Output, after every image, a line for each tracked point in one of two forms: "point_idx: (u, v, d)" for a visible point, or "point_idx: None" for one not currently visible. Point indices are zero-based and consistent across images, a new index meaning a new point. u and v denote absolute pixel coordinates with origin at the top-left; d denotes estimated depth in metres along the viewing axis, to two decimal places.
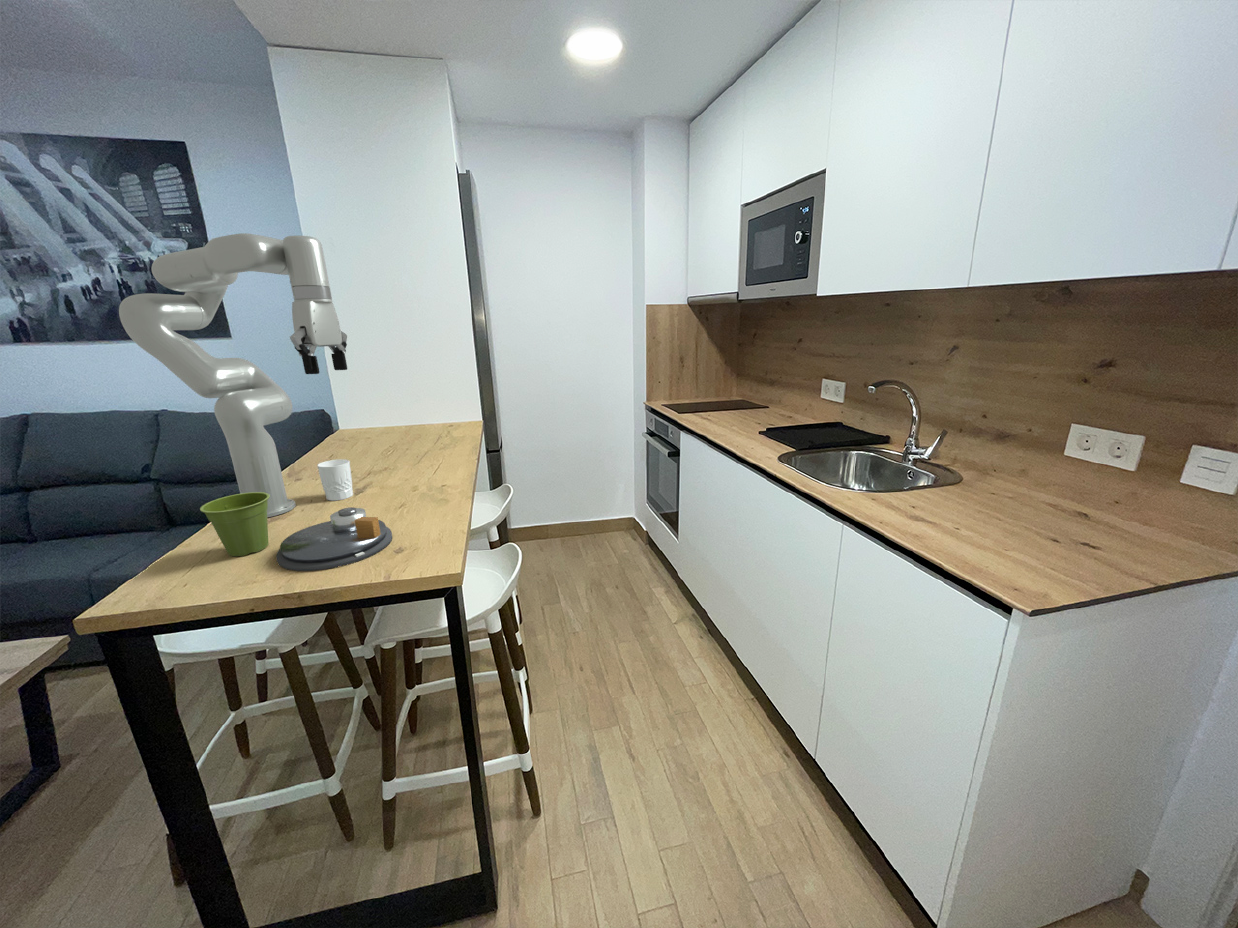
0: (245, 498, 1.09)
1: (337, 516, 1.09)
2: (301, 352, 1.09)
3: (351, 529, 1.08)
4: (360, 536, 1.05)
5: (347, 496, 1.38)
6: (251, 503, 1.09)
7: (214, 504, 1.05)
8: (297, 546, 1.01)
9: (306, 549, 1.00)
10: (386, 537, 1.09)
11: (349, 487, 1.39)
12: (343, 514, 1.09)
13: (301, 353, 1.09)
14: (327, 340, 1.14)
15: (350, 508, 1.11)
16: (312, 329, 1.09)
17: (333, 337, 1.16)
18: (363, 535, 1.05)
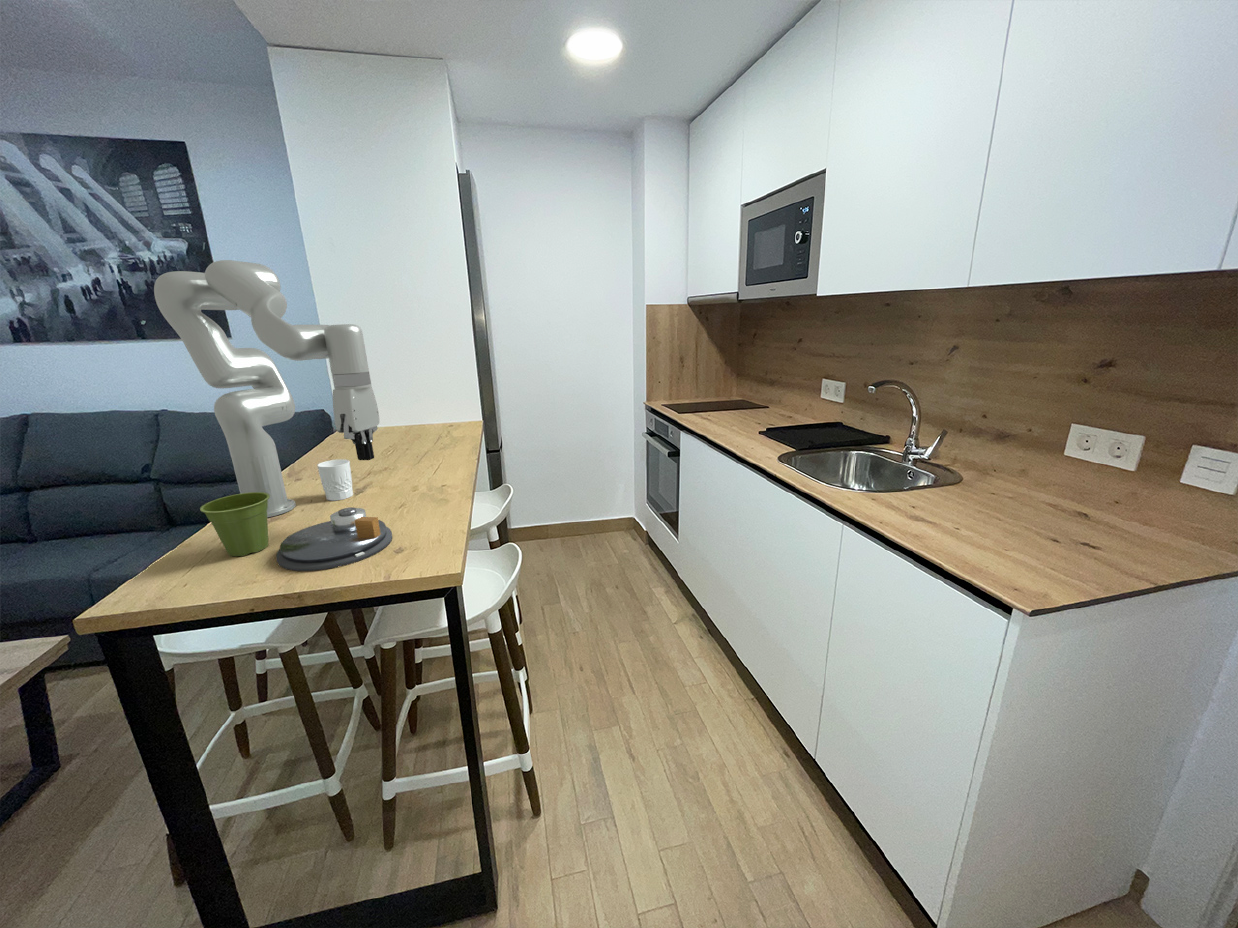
0: (245, 498, 1.09)
1: (337, 516, 1.09)
2: (355, 441, 1.13)
3: (351, 529, 1.08)
4: (360, 536, 1.05)
5: (347, 496, 1.38)
6: (251, 503, 1.09)
7: (214, 504, 1.05)
8: (297, 546, 1.01)
9: (306, 549, 1.00)
10: (386, 537, 1.09)
11: (349, 487, 1.39)
12: (343, 514, 1.09)
13: (355, 442, 1.13)
14: (366, 424, 1.13)
15: (350, 508, 1.11)
16: (352, 417, 1.09)
17: (372, 420, 1.15)
18: (363, 535, 1.05)
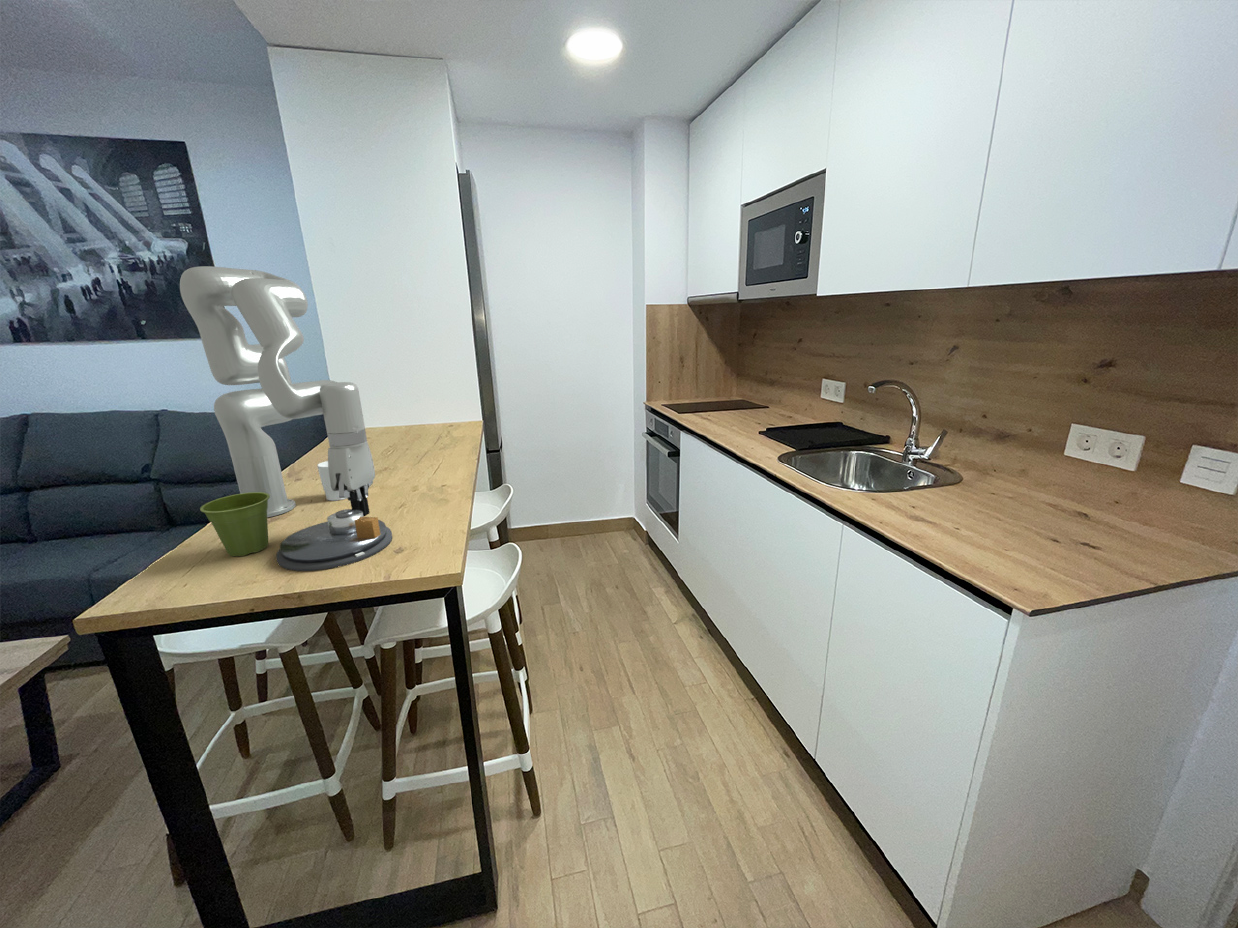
0: (245, 498, 1.09)
1: (335, 518, 1.08)
2: (350, 498, 1.12)
3: (349, 531, 1.07)
4: (359, 536, 1.05)
5: None
6: (251, 503, 1.09)
7: (214, 504, 1.05)
8: (297, 546, 1.01)
9: (306, 549, 1.00)
10: (386, 537, 1.09)
11: None
12: (340, 516, 1.08)
13: (350, 499, 1.12)
14: (362, 481, 1.12)
15: (347, 510, 1.10)
16: (348, 476, 1.08)
17: (367, 476, 1.14)
18: (363, 535, 1.05)
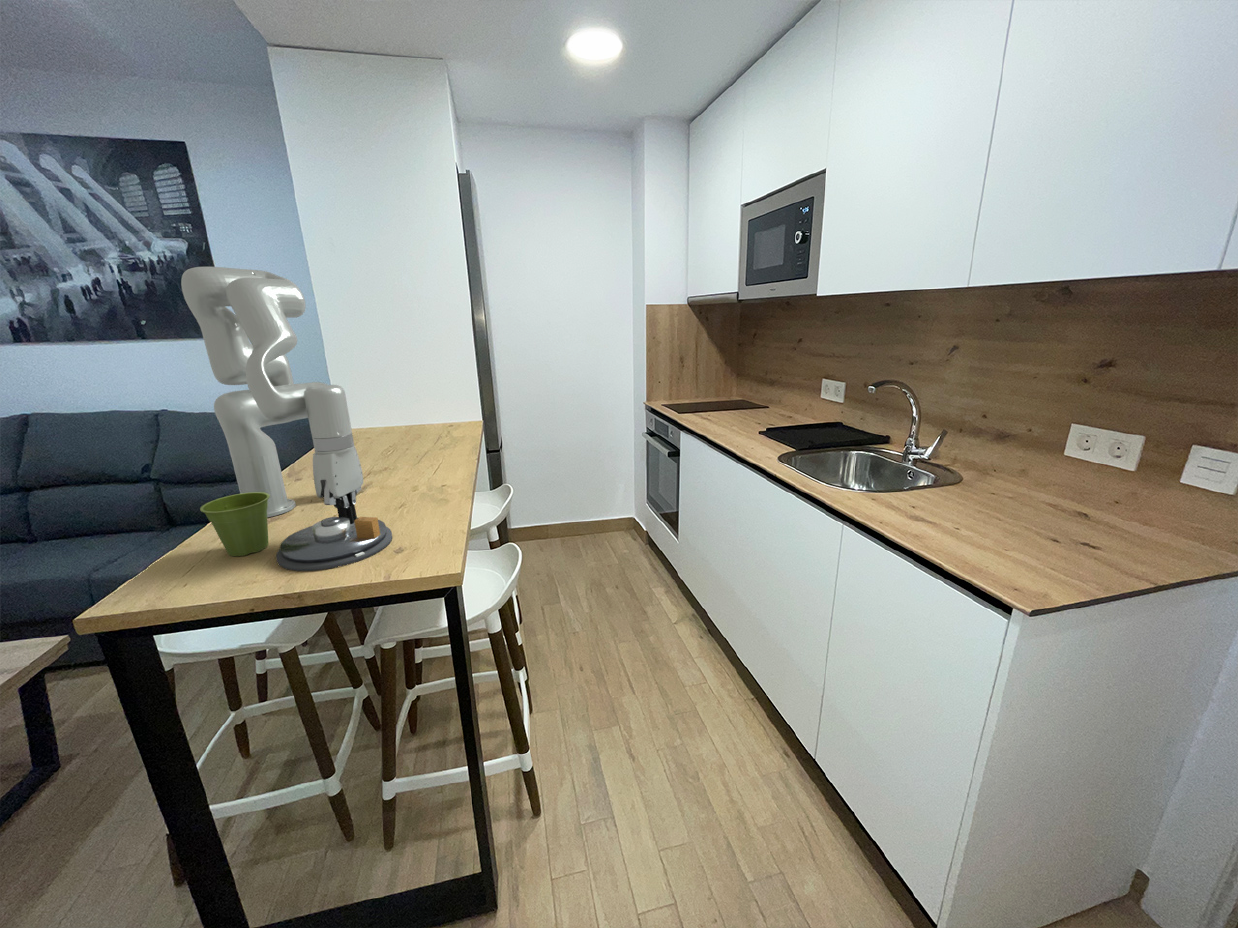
0: (245, 498, 1.09)
1: (320, 526, 1.03)
2: (337, 505, 1.07)
3: (334, 540, 1.03)
4: (359, 536, 1.05)
5: None
6: (251, 503, 1.09)
7: (214, 504, 1.05)
8: (297, 546, 1.01)
9: (306, 549, 1.00)
10: (386, 537, 1.09)
11: None
12: (326, 524, 1.03)
13: (337, 506, 1.08)
14: (348, 488, 1.08)
15: (333, 518, 1.06)
16: (334, 482, 1.03)
17: (354, 482, 1.09)
18: (363, 535, 1.04)
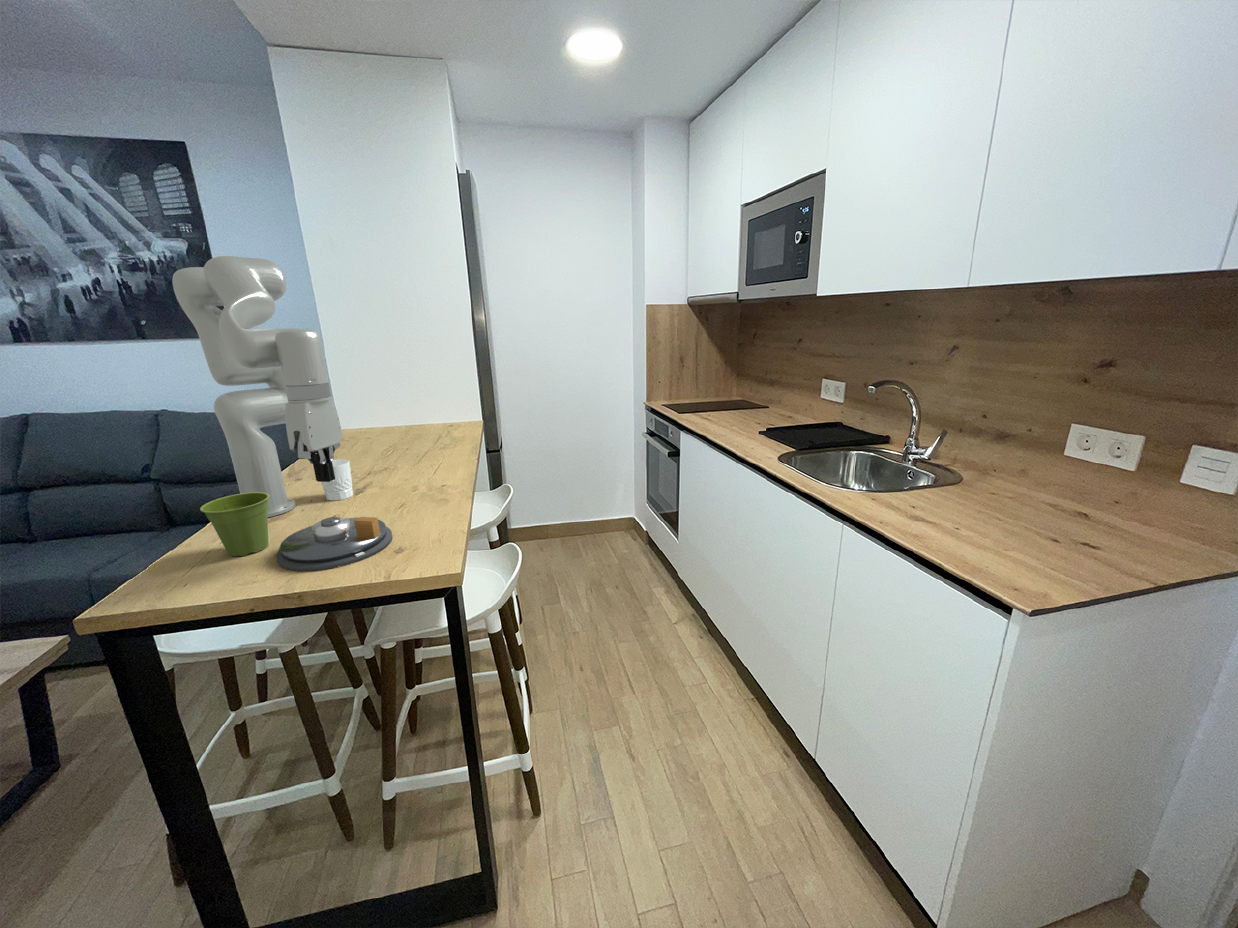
0: (245, 498, 1.09)
1: (320, 526, 1.03)
2: (312, 461, 1.00)
3: (334, 540, 1.03)
4: (359, 536, 1.05)
5: (347, 496, 1.38)
6: (251, 503, 1.09)
7: (214, 504, 1.05)
8: (297, 546, 1.01)
9: (306, 549, 1.00)
10: (386, 537, 1.09)
11: (349, 487, 1.39)
12: (326, 524, 1.03)
13: (312, 461, 1.00)
14: (325, 442, 1.00)
15: (333, 518, 1.06)
16: (308, 434, 0.96)
17: (332, 437, 1.02)
18: (363, 535, 1.04)
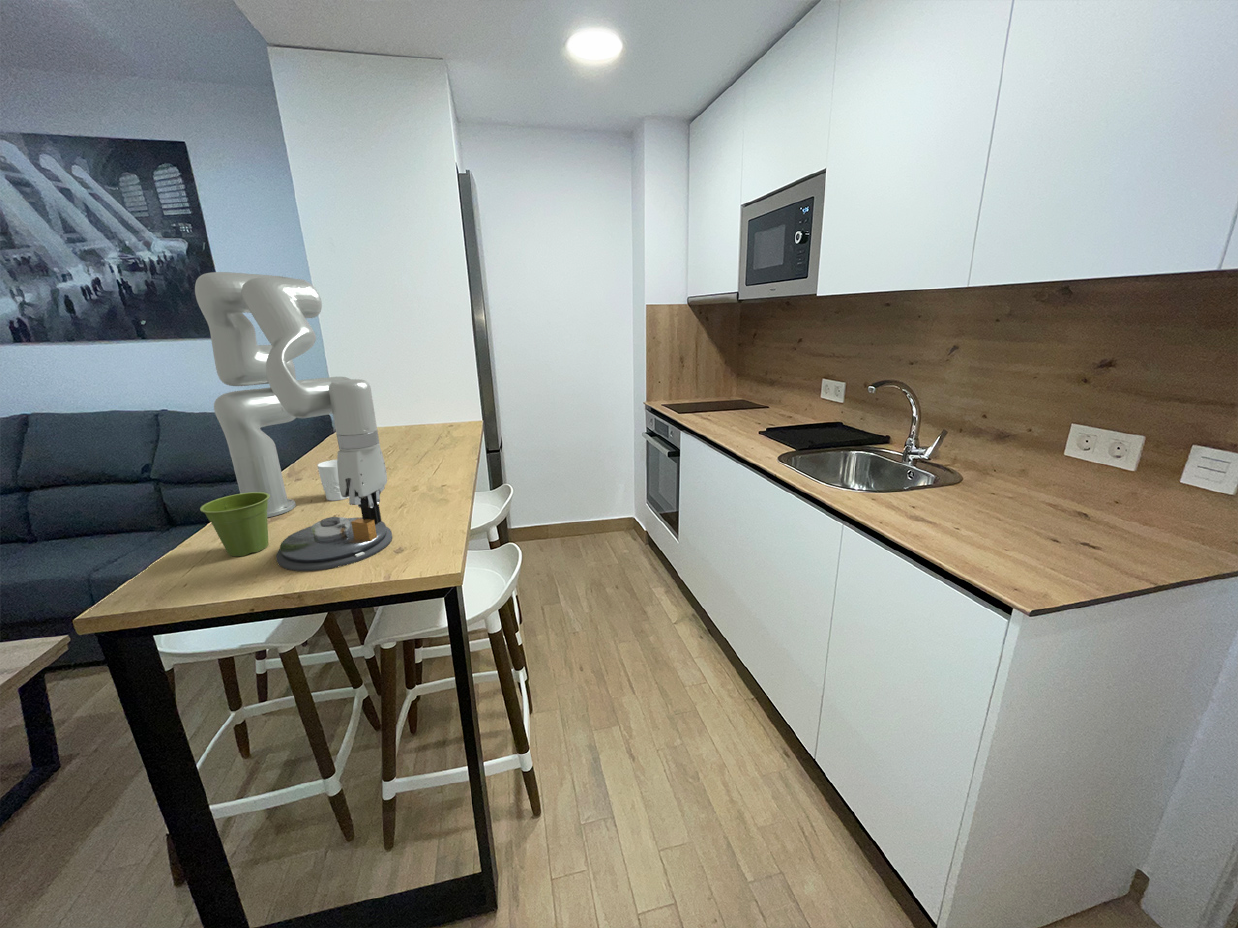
0: (245, 498, 1.09)
1: (319, 526, 1.04)
2: (361, 505, 1.03)
3: (331, 540, 1.03)
4: (356, 538, 1.04)
5: None
6: (251, 503, 1.09)
7: (214, 504, 1.05)
8: (296, 545, 1.02)
9: (303, 548, 1.00)
10: (386, 537, 1.09)
11: None
12: (324, 524, 1.03)
13: (361, 506, 1.03)
14: (373, 487, 1.03)
15: (334, 518, 1.06)
16: (359, 481, 0.99)
17: (379, 481, 1.05)
18: (359, 537, 1.04)
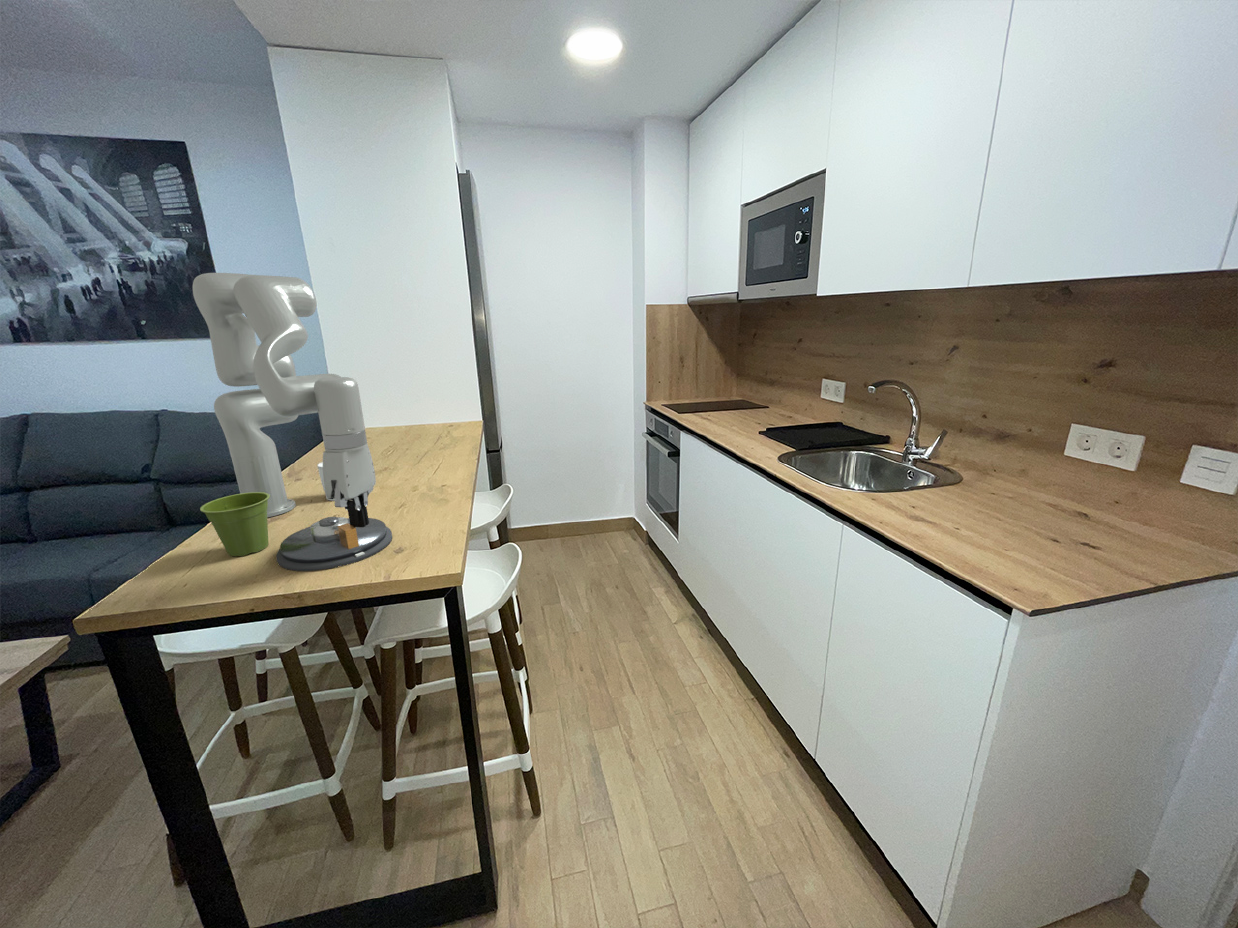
0: (245, 498, 1.09)
1: (317, 525, 1.04)
2: (348, 507, 1.00)
3: (322, 541, 1.03)
4: (341, 543, 1.02)
5: None
6: (251, 503, 1.09)
7: (214, 504, 1.05)
8: (297, 539, 1.05)
9: (296, 544, 1.02)
10: (386, 537, 1.09)
11: None
12: (320, 524, 1.04)
13: (347, 508, 1.00)
14: (360, 489, 1.00)
15: (334, 518, 1.06)
16: (345, 483, 0.95)
17: (367, 482, 1.02)
18: (343, 543, 1.01)
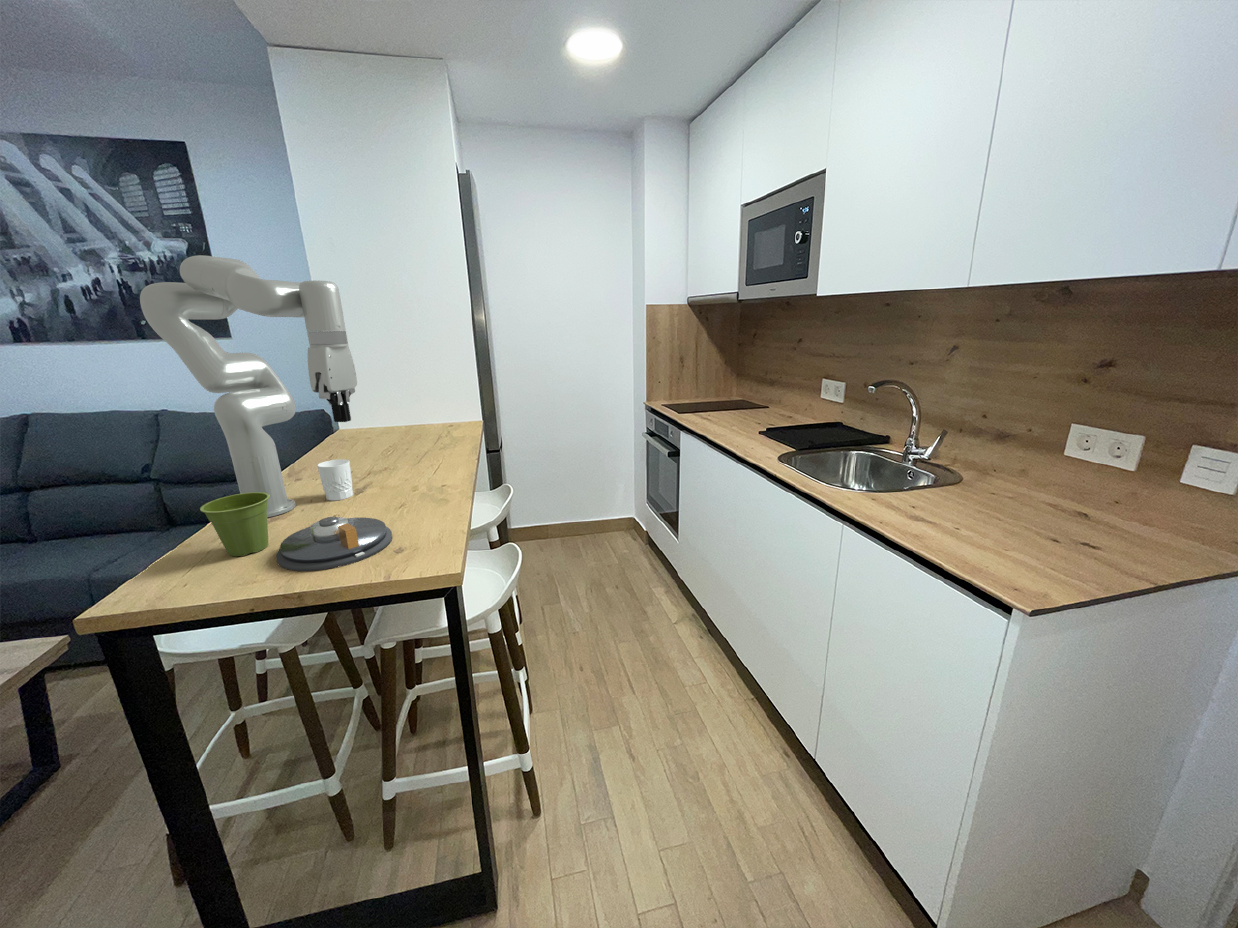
0: (245, 498, 1.09)
1: (317, 525, 1.04)
2: (331, 402, 1.11)
3: (322, 541, 1.03)
4: (341, 543, 1.02)
5: (347, 496, 1.38)
6: (251, 503, 1.09)
7: (214, 504, 1.05)
8: (297, 539, 1.05)
9: (296, 544, 1.02)
10: (386, 537, 1.09)
11: (349, 487, 1.39)
12: (320, 524, 1.04)
13: (331, 402, 1.11)
14: (342, 385, 1.11)
15: (334, 518, 1.06)
16: (328, 375, 1.07)
17: (348, 381, 1.13)
18: (343, 543, 1.01)
